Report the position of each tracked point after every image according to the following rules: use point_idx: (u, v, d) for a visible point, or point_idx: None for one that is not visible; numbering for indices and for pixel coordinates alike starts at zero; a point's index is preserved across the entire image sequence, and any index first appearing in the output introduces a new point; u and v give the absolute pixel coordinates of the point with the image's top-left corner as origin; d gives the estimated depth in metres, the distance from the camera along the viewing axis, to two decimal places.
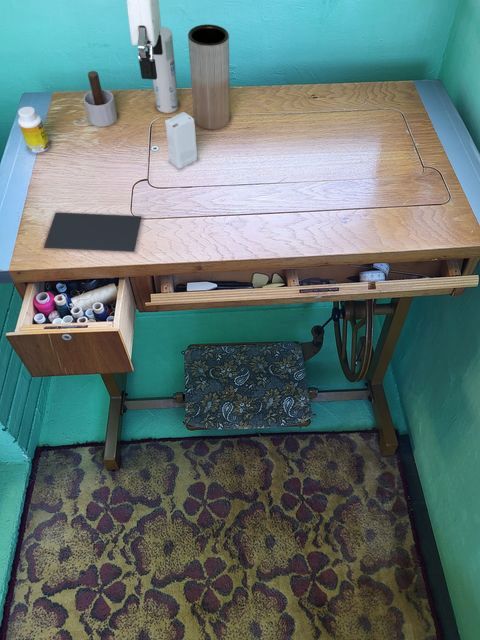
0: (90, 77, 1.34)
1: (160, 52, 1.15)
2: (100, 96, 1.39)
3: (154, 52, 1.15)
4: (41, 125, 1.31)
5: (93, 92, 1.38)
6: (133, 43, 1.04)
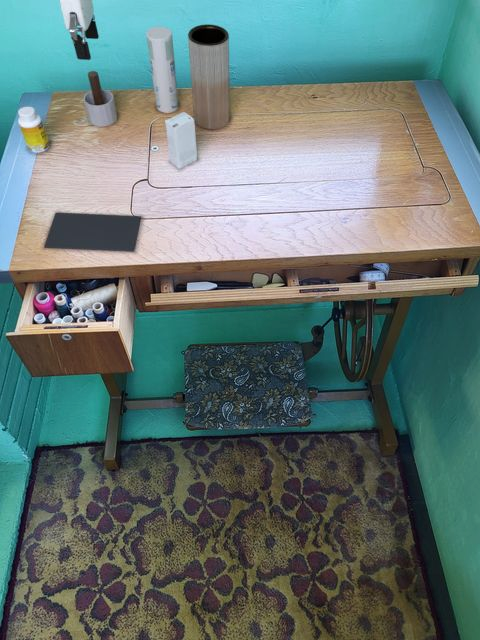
0: (90, 77, 1.34)
1: (96, 36, 1.31)
2: (100, 96, 1.39)
3: (91, 36, 1.31)
4: (41, 125, 1.31)
5: (93, 92, 1.38)
6: (67, 27, 1.20)
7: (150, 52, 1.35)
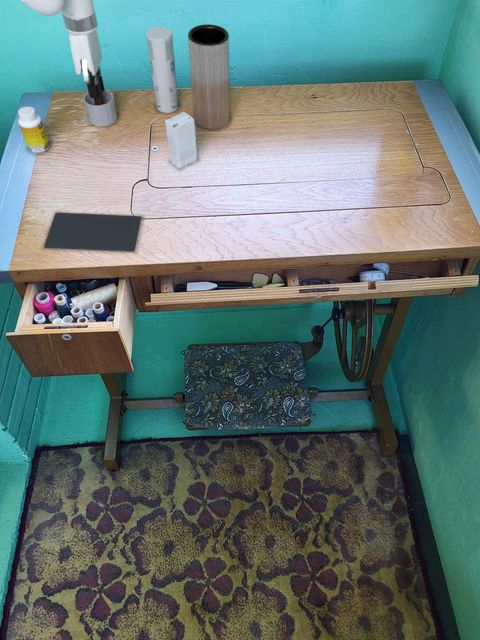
0: None
1: (102, 89, 1.39)
2: None
3: None
4: (41, 125, 1.31)
5: None
6: (77, 73, 1.29)
7: (150, 52, 1.35)
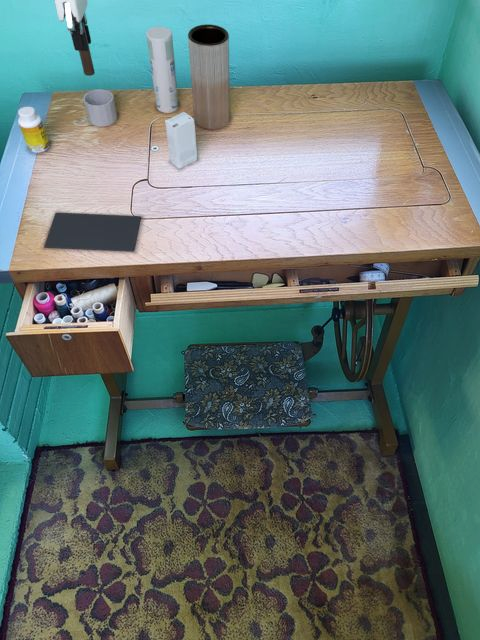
0: None
1: (88, 41, 1.26)
2: None
3: None
4: (41, 125, 1.31)
5: None
6: (60, 18, 1.16)
7: (150, 52, 1.35)
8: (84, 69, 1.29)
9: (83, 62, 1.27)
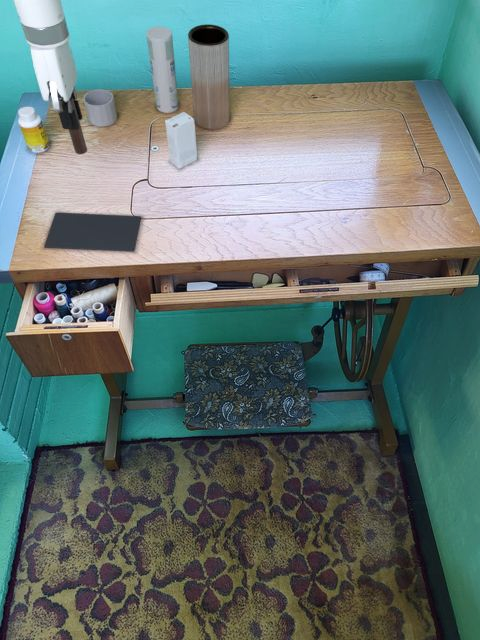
0: (63, 103, 1.03)
1: (78, 117, 1.08)
2: None
3: None
4: (41, 125, 1.31)
5: None
6: (44, 98, 0.98)
7: (150, 52, 1.35)
8: (75, 147, 1.11)
9: (74, 140, 1.10)
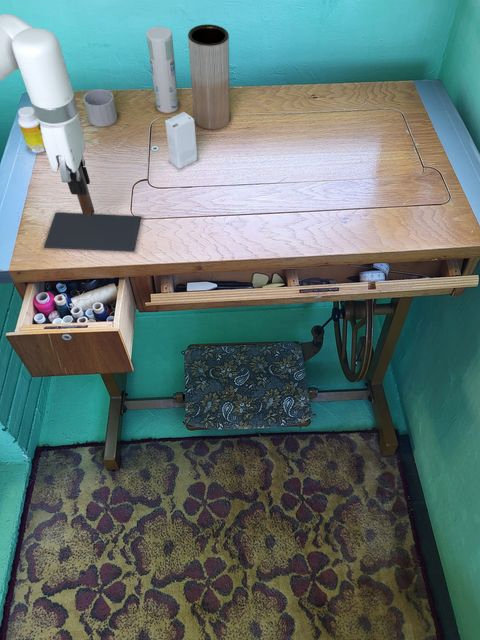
0: (71, 171, 1.05)
1: (86, 182, 1.10)
2: None
3: None
4: None
5: None
6: (53, 170, 1.01)
7: (150, 52, 1.35)
8: (82, 209, 1.14)
9: (82, 203, 1.12)
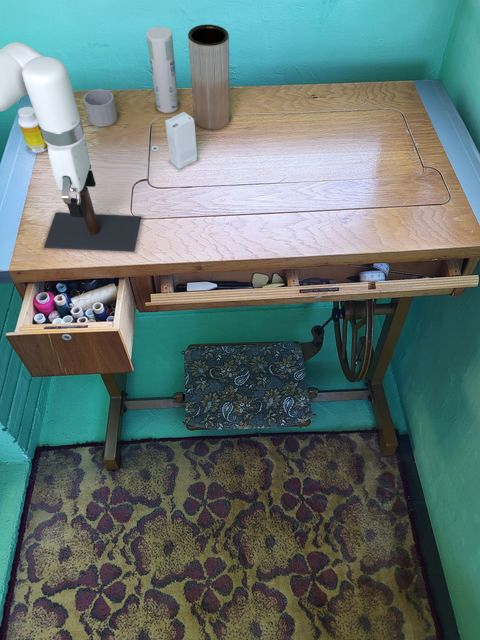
0: None
1: (92, 184, 1.15)
2: (90, 213, 1.15)
3: (86, 184, 1.15)
4: None
5: None
6: (59, 189, 1.05)
7: (150, 52, 1.35)
8: (88, 229, 1.19)
9: (88, 223, 1.17)
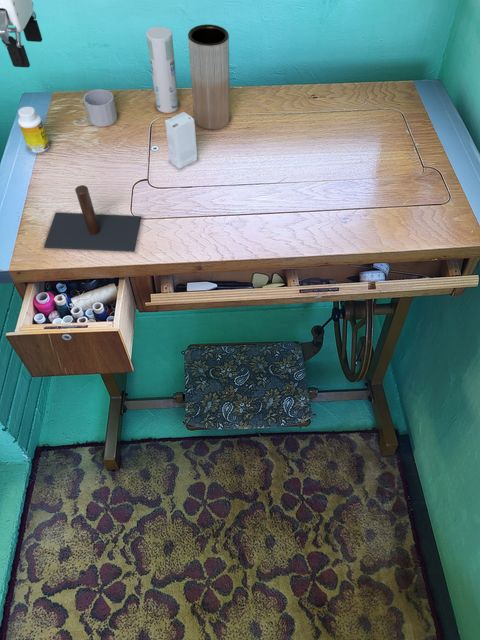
0: (78, 194, 1.10)
1: (38, 38, 1.08)
2: (90, 213, 1.15)
3: (32, 39, 1.08)
4: (41, 125, 1.31)
5: (82, 208, 1.14)
6: None
7: (150, 52, 1.35)
8: (88, 229, 1.19)
9: (88, 223, 1.17)
